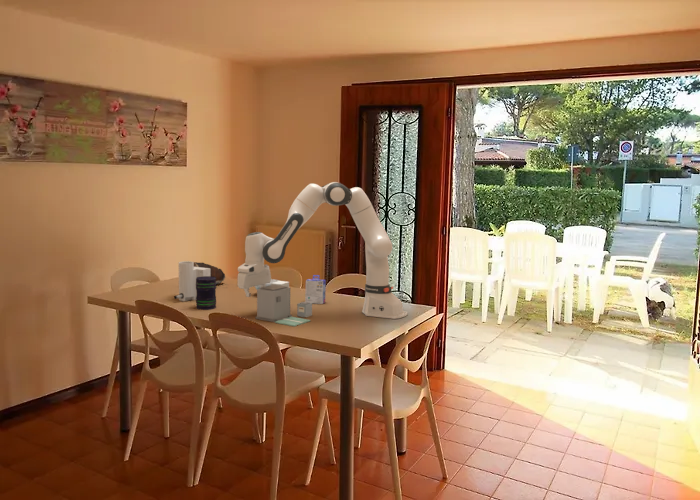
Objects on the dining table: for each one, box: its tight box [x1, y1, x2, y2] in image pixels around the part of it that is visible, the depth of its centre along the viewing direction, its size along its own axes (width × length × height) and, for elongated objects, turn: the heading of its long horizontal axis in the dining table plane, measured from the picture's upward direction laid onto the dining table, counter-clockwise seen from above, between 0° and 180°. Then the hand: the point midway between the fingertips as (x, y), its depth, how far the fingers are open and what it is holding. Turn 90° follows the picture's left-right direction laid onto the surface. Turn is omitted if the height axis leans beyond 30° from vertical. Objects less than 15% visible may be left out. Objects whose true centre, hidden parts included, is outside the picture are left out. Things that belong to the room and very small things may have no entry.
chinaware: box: [254, 278, 281, 291], centre depth 330 cm, size 15×15×8 cm
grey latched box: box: [255, 285, 293, 323], centre depth 278 cm, size 11×13×15 cm
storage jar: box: [195, 276, 217, 311], centre depth 296 cm, size 10×10×15 cm
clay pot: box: [193, 261, 226, 285], centre depth 353 cm, size 15×15×25 cm
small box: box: [271, 280, 290, 288], centre depth 299 cm, size 8×6×13 cm
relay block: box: [296, 301, 313, 318], centre depth 284 cm, size 5×5×6 cm
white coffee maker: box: [173, 260, 210, 302], centre depth 313 cm, size 16×19×20 cm
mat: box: [274, 316, 311, 327], centre depth 272 cm, size 11×12×1 cm
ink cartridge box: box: [304, 274, 327, 305], centre depth 313 cm, size 10×6×14 cm, turn 78°
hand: (255, 295), depth 285 cm, fingers open, 8 cm apart
